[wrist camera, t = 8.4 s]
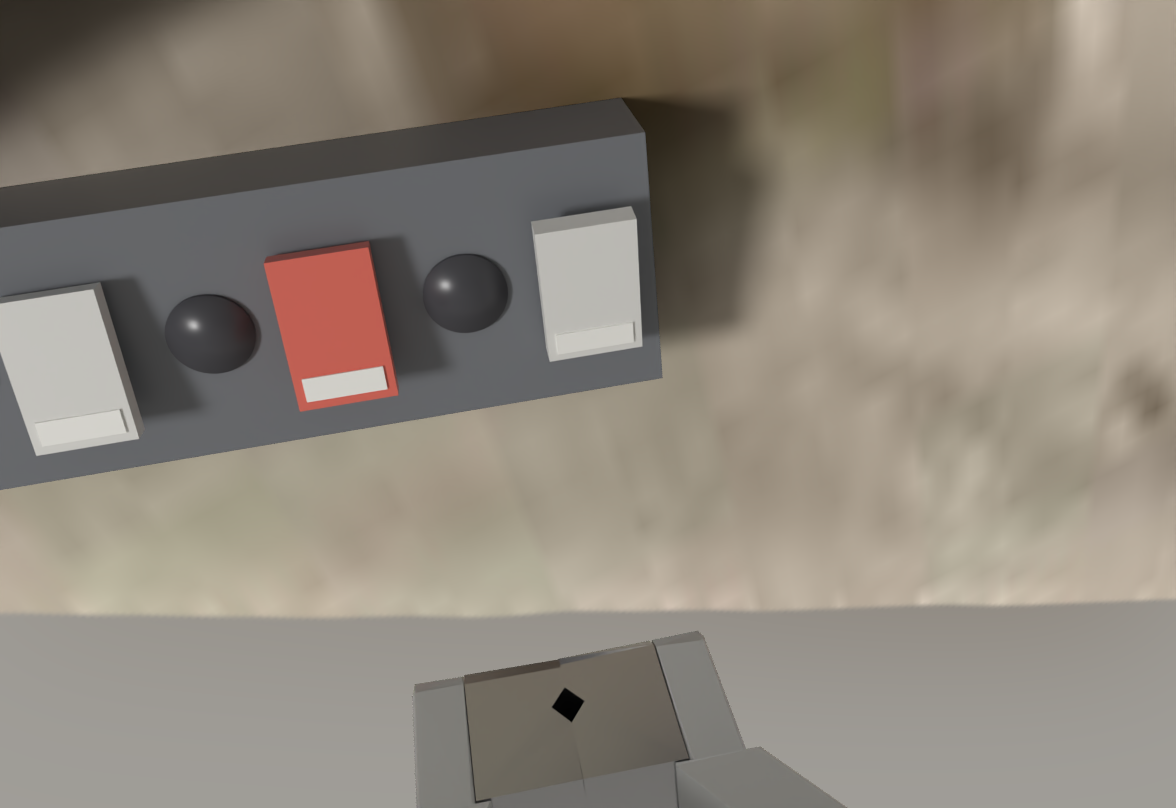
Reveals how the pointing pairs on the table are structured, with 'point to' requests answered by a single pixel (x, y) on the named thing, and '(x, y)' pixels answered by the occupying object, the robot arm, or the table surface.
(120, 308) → the strip housing
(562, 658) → the robot arm
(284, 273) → the rocker middle
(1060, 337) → the table surface
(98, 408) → the rocker
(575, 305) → the rocker
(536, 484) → the table surface
